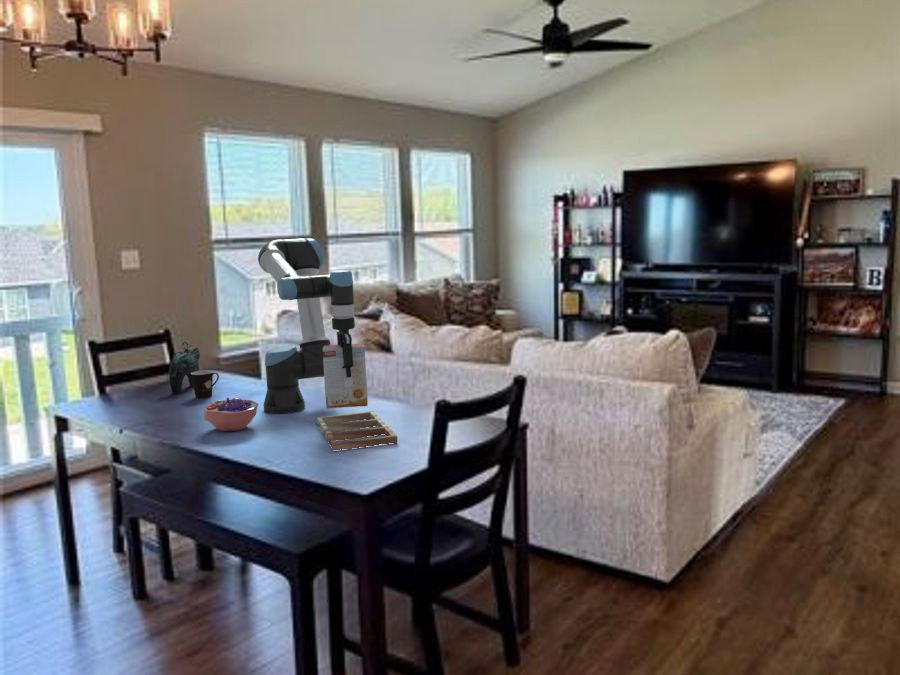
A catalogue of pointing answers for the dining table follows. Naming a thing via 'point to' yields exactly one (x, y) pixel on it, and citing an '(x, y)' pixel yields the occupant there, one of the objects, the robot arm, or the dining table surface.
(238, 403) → the cell model
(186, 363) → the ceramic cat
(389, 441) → the rail
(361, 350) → the cracker box
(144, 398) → the dining table surface
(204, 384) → the coffee mug
